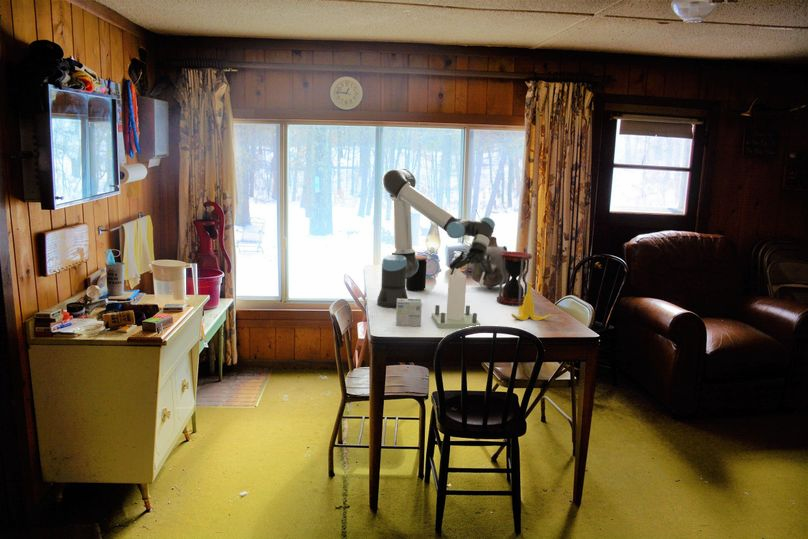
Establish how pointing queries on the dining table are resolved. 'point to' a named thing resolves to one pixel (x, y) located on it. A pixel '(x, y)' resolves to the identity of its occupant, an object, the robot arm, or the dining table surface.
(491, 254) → the jug
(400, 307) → the light bulb box
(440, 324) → the peg board
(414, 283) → the coffee jar
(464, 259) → the robot arm
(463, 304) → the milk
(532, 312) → the banana peel
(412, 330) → the dining table surface
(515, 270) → the hourglass
